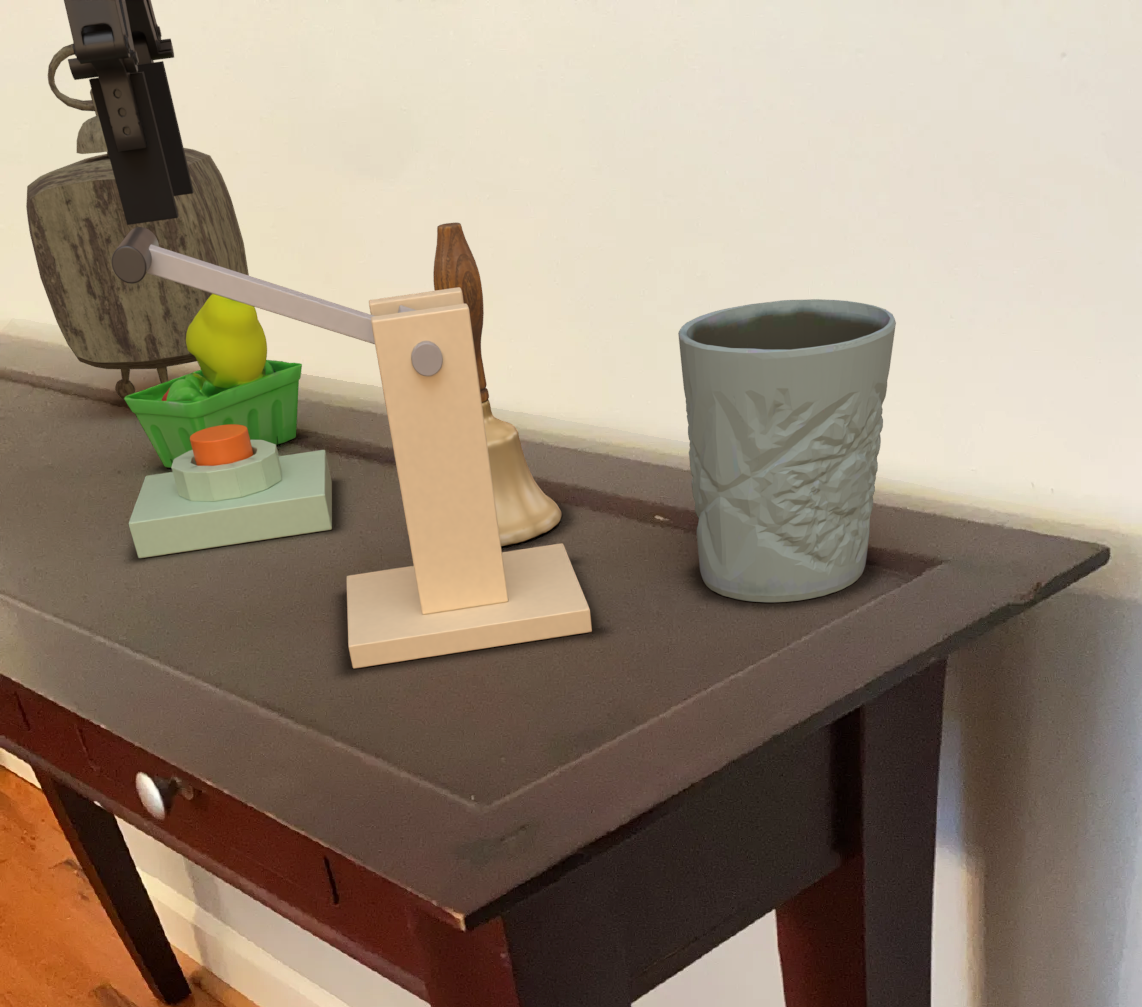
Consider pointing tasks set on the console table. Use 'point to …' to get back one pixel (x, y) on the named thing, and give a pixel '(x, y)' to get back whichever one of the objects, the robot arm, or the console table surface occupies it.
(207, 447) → the orange push button
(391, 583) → the lever bracket
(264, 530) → the button block
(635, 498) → the console table surface
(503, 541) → the hand bell
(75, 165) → the tabletop clock
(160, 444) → the fruit basket
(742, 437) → the drinking glass
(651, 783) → the console table surface
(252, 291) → the press lever
